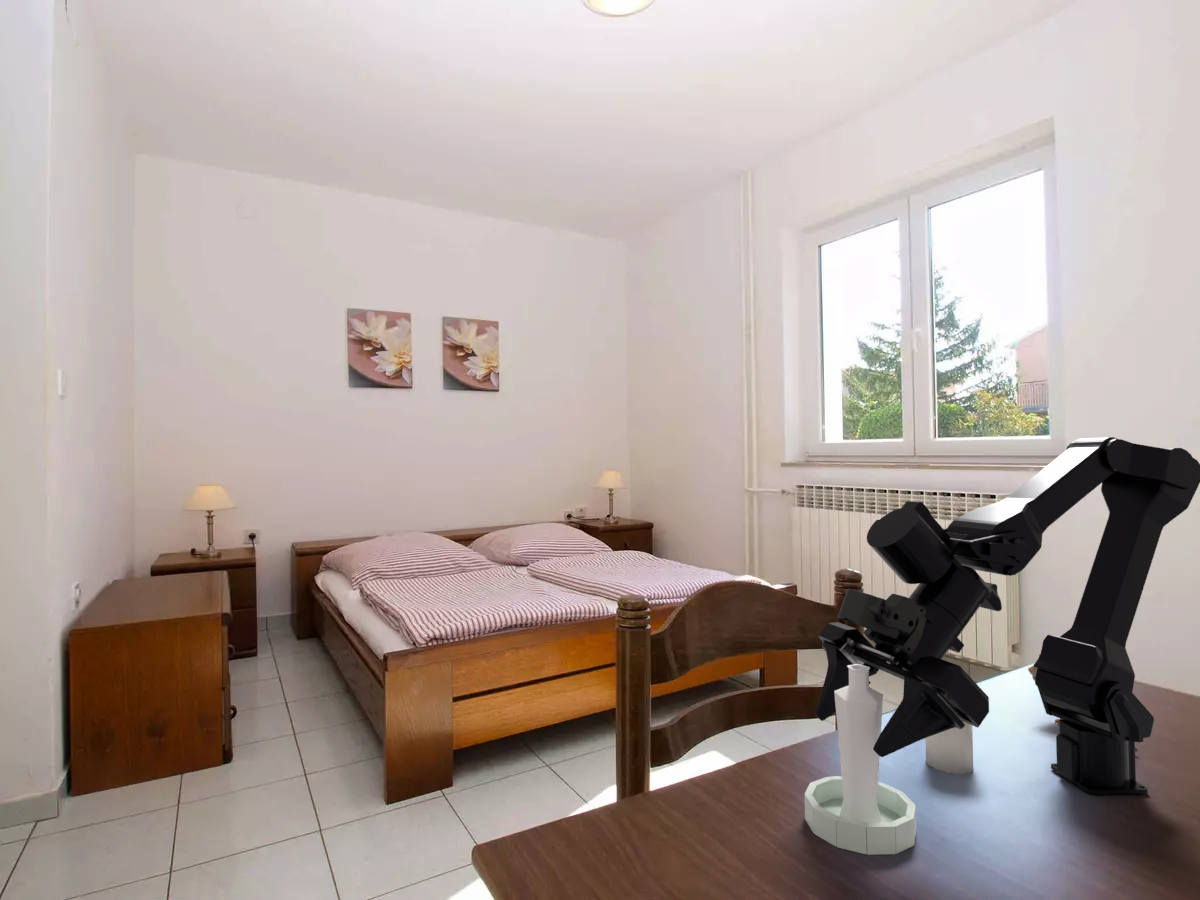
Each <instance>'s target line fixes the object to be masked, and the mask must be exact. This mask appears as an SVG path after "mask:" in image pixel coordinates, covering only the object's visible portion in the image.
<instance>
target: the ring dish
mask: <svg viewBox="0 0 1200 900" xmlns="http://www.w3.org/2000/svg"><path fill="white" fill-rule="evenodd" d="M843 799H844V798H843V787H842V775H840V776H839V775H836V776H835V775H834V776H825V777H822V778H819V779H817V780H814V781H811V782H810V783H809V784H808V786H807V788H806V790H805V792H804V820H805V822H806V823H807V825H808V826H809V828H810V830H811V831H812V833H813V834H814V835H816V836H817V837H818V838H820V839H822V840H824V841H826V843H829V844H830V845H832V846H834V847H836V848H839V849H843V850H847V851H851V852H855V853H859V854H862V855H868V856H871V855H872V856H875V855H878V856H879V855H897V854H899V853H901V852H904V851H905V850H908V849H910V848H912V847H913V846H915V842H916V835H917V813H916V812H917V808H916V807H917V805H916V804H915V803H914V802H913V801H912V800H911V799H910V798H909V796H907V795H906V794H905V793H904V792H903V791H901V790H899V789H897V788H894V787H892V786H890V785H888V784H885V783H884V782H882V781H879V780H878V794H877V805H878V809H879V812H880V816H881V821H880V823H863V822H859V821H855V820H850V819H846V818H843V817H842V816H841V815H840V810H841V807H842V803H843Z"/></svg>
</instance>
